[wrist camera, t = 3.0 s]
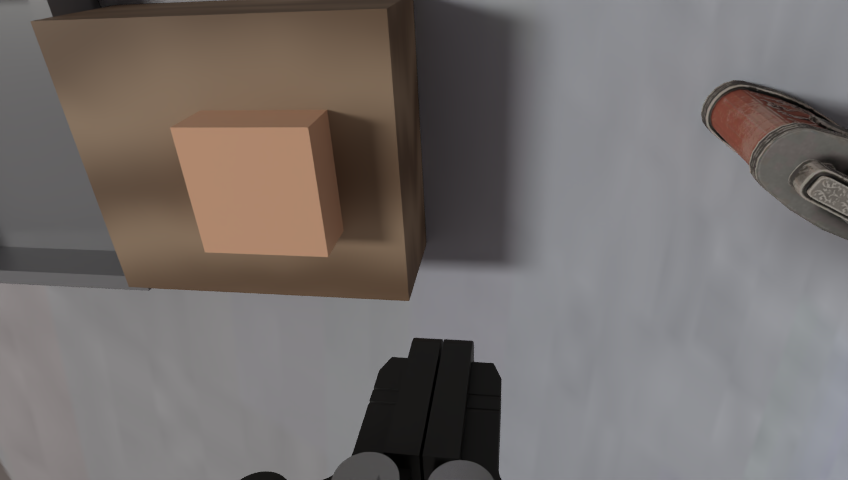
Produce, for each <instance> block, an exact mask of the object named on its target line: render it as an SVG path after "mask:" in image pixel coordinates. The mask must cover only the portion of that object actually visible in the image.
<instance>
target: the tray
mask: <svg viewBox="0 0 848 480" xmlns="http://www.w3.org/2000/svg"><path fill="white" fill-rule="evenodd" d="M97 8H101V7H100V4H99V1H98V0H0V283H9V284H29V285H49V286H68V287H88V288H108V289H128V290H148V291H149V290H150V289H151V288H139V287H129V286H128V283H127V280H126V278H125V275H124V272H123V270H122V267H121V264H120V262H119V259H118V256H117V254H116V251H115V248H114V245H113V243H112V240H111V237H110V235H109V232H108V229H107V227H106V224H105V221H104V219H103V216H102V213H101V210H100V208H99V205H98V202H97V200H96V197H95V194H94V192H93V189H92V186H91V184H90V181H89V178H88V175H87V173H86V170H85V167H84V165H83V162H82V159H81V157H80V154H79V151H78V149H77V146H76V143H75V141H74V138H73V135H72V132H71V130H70V127H69V124H68V122H67V119H66V116H65V114H64V111H63V108H62V106H61V103H60V100H59V97H58V95H57V92H56V89H55V87H54V84H53V81H52V79H51V76H50V73H49V71H48V68H47V65H46V62H45V60H44V57H43V54H42V52H41V49H40V46H39V44H38V41H37V38H36V36H35V33H34V30H33V27H32V25H31V22H30V21H34V20H39V19H44V18H50V17H55V16H60V15H66V14H71V13H76V12H82V11H87V10H92V9H97Z"/></svg>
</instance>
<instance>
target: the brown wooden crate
mask: <svg viewBox="0 0 848 480" xmlns="http://www.w3.org/2000/svg"><path fill="white" fill-rule="evenodd" d="M30 22H31V25H32V27H33V30H34V33H35V36H36V38H37V41H38V44H39V46H40V49H41V52H42V54H43V57H44V60H45V62H46V65H47V68H48V71H49V73H50V76H51V79H52V81H53V84H54V87H55V89H56V92H57V95H58V97H59V100H60V103H61V106H62V108H63V111H64V114H65V116H66V119H67V122H68V124H69V127H70V130H71V132H72V135H73V138H74V141H75V143H76V146H77V149H78V151H79V154H80V157H81V159H82V162H83V165H84V167H85V170H86V173H87V175H88V178H89V181H90V184H91V186H92V189H93V192H94V194H95V197H96V200H97V202H98V205H99V208H100V210H101V213H102V216H103V219H104V221H105V224H106V227H107V229H108V232H109V235H110V237H111V240H112V243H113V245H114V248H115V251H116V254H117V256H118V259H119V262H120V264H121V267H122V270H123V272H124V275H125V278H126V280H127V283H128V286H129V287H139V288H159V289H179V290H199V291H220V292H240V293H260V294H280V295H300V296H321V297H341V298H361V299H381V300H401V301H409V300H410V296H411V293H412V290H413V286H414V283H415V280H416V276H417V273H418V270H419V266H420V263H421V260H422V257H423V253H424V250H425V247H426V227H425V209H424V190H423V172H422V154H421V135H420V117H419V98H418V80H417V62H416V43H415V25H414V7H413V0H227V1H202V2H177V3H151V4H126V5H113V6H108V7H103V8H97V9H92V10H87V11H82V12H76V13H71V14H66V15H60V16H55V17H50V18H44V19H39V20H34V21H30ZM200 110H327V112H328V119H329V127H330V134H331V141H332V149H333V156H334V163H335V171H336V178H337V185H338V193H339V200H340V207H341V215H342V222H343V229H344V231H343V233H342V235H341V236H340V238H339V240H338V241H337V243H336V245H335V247H334V248H333V250H332V252H331V253H330V255H329V257H313V256H286V255H260V254H233V253H207V252H205V251H204V247H203V244H202V240H201V236H200V233H199V229H198V226H197V222H196V219H195V215H194V212H193V208H192V204H191V201H190V197H189V194H188V190H187V187H186V183H185V179H184V176H183V172H182V169H181V165H180V162H179V158H178V155H177V151H176V147H175V144H174V140H173V137H172V133H171V130H170V127H172V126H174V125H175V124H177V123H179V122H181V121H182V120H184V119H186V118H188V117H189V116H191V115H193V114H195V113H197V112H198V111H200Z"/></svg>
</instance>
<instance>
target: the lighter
mask: <svg viewBox="0 0 848 480" xmlns="http://www.w3.org/2000/svg"><path fill="white" fill-rule="evenodd" d="M701 116H702V122H703V123H704V124H705V126H706V127H707V128H708V129H709V130H710V132H711V133H713V134H714V135H715V136H716V137H717V138H719V139H720V140H721V141H722V142H723V143H725V144H726V145H727V146H728V147H729V148H731V149H732V150H733V151H734V152H736V153H738V154H739V155H740V156H741V157H742V158H743V159H744V160H745V161H746V162H747V163H748V164H749V166H750V173H751V174H752V176H753V177H754V178H755V180H756V181H757V182H758V183H759V184H760V185H761V186H762V187H763V188H764V189H765V190H766V191H768V192H769V193H770V194H771V195H773V196H774V197H775V198H776V199H777V200H779V201H780V202H781V203H782V204H783V205H785V206H786V207H787V208H788V209H789V210H791V211H793V212H794V213H796V214H798V215H799V216H801V217H802V218H804V219H806V220H807V221H809V222H811V223H812V224H814V225H816V226H817V227H819V228H820V229H822V230H825V231H827V232H829V233H832V234H834V235H837V236H839V237H842V238H844V239H846V240H848V130H847V129H845V128H843V127H840V126H839V125H838V124H837V123H835V122H834V121H832V120H830V119H829V118H827V117H826V116H824V115H823V114H821V113H820V112H818V111H816V110H815V109H813V108H812V107H810V106H809V105H807V104H805V103H804V102H802V101H799V100H797V99H794V98H792V97H790V96H787V95H785V94H783V93H780V92H778V91H776V90H773V89H770V88H766V87H763V86H759V85H755V84H752V83H748V82H745V81H737V80H733V81H730V82H726V83H723V84H722V85H720V86H719V87H717V88H715V89H714V90H713V91H712V92H711V94H710V95H709V96H708V97H707V99H706V101H705V102H704V104H703V107H702V112H701Z"/></svg>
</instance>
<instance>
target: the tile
mask: <svg viewBox="0 0 848 480" xmlns="http://www.w3.org/2000/svg"><path fill="white" fill-rule="evenodd" d="M170 130H171V133H172V137H173V140H174V144H175V147H176V151H177V155H178V158H179V162H180V165H181V169H182V172H183V176H184V179H185V183H186V187H187V190H188V194H189V197H190V201H191V204H192V208H193V212H194V215H195V219H196V222H197V226H198V229H199V233H200V236H201V240H202V244H203V247H204V251H205V252H207V253H233V254H260V255H286V256H313V257H329V255H330V253H331V252H332V250H333V248H334V247H335V245H336V243H337V241H338V240H339V238H340V236H341V235H342V233H343V231H344V229H343V222H342V215H341V207H340V200H339V193H338V185H337V178H336V171H335V163H334V156H333V149H332V141H331V134H330V127H329V119H328V112H327V110H200V111H198V112H197V113H195V114H193V115H191V116H189V117H188V118H186V119H184V120H182V121H181V122H179V123H177V124H175V125H174V126H172V127H170Z"/></svg>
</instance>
